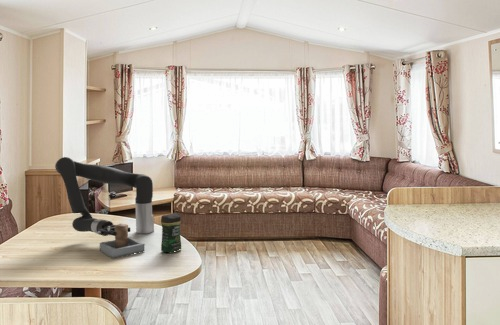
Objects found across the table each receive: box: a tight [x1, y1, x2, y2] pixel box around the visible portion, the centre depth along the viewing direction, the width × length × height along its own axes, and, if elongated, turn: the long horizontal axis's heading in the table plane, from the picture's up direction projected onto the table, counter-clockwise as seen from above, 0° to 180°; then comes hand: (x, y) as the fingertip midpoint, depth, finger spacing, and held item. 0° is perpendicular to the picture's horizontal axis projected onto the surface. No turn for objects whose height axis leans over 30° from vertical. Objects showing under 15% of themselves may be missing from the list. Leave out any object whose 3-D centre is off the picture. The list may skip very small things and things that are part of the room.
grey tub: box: [99, 236, 146, 260], centre depth 207 cm, size 16×16×4 cm
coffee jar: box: [160, 212, 182, 253], centre depth 207 cm, size 10×8×19 cm
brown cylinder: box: [114, 223, 129, 249], centre depth 206 cm, size 6×6×12 cm
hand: (122, 231), depth 206 cm, fingers open, 8 cm apart
